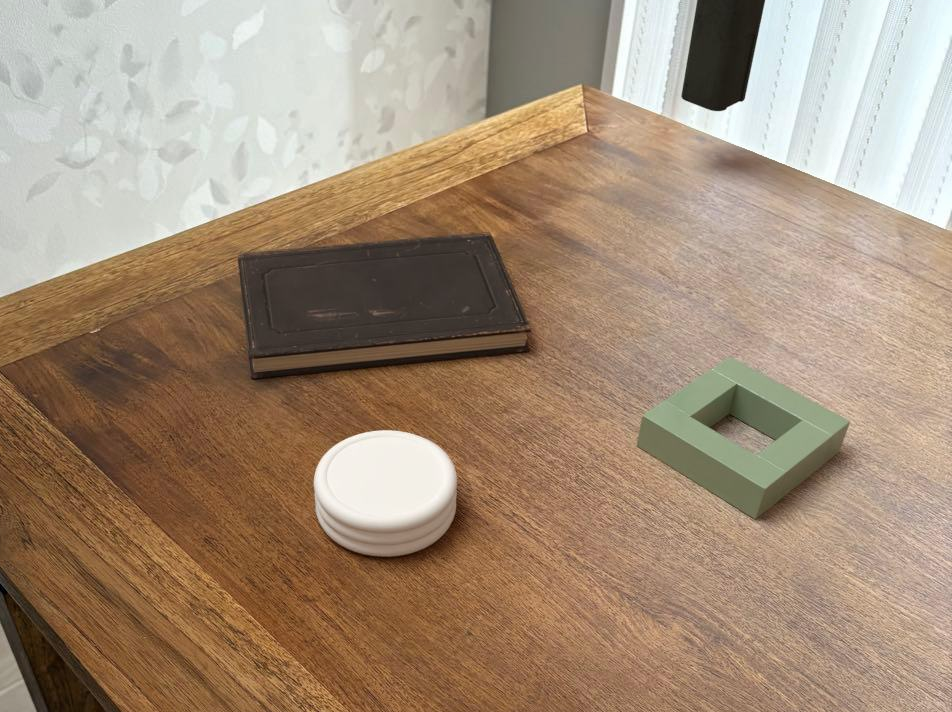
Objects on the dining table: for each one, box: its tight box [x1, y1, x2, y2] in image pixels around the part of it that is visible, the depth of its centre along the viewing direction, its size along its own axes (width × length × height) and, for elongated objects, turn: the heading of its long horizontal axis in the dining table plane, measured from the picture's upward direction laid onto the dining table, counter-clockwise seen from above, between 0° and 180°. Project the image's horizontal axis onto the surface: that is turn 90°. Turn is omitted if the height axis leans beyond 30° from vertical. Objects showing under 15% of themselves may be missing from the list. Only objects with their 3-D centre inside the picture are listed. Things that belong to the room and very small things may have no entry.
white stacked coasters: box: [312, 429, 458, 558], centre depth 78 cm, size 10×10×4 cm
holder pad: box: [636, 356, 851, 520], centre depth 83 cm, size 11×11×3 cm
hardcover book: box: [236, 231, 532, 380], centre depth 96 cm, size 16×23×2 cm
